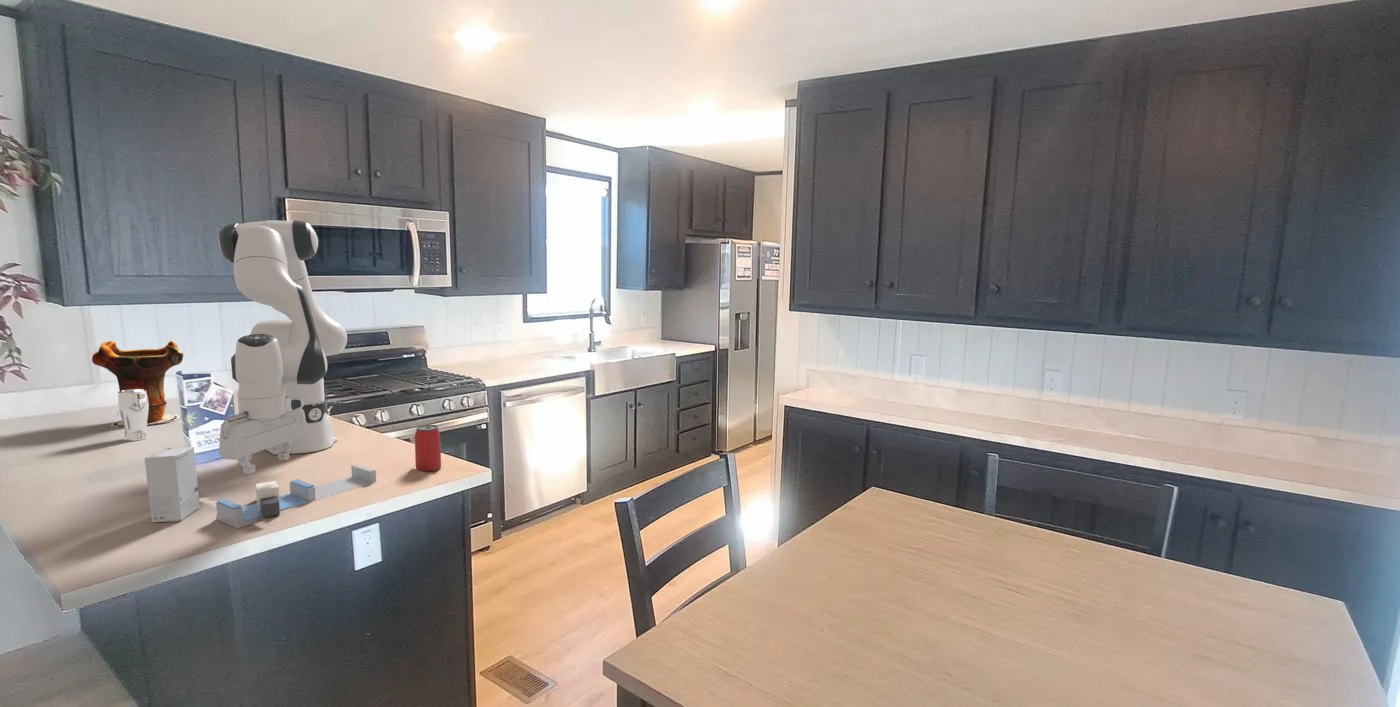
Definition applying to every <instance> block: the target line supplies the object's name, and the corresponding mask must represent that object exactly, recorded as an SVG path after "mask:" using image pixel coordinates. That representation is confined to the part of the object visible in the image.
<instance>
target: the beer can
mask: <svg viewBox="0 0 1400 707" xmlns="http://www.w3.org/2000/svg"><path fill="white" fill-rule="evenodd" d="M440 432H441V431H440V430H439V426H438V425H436V424H423V425H419V426H417V427H416V431H415V433H414V449H415V450H414V454H415V455H414V456H415V457H414V458H415V469H416V470H417V471H419V472H423V473H429V472H430V473H431V472H434V471H435V472H436V471H437V470H439V469H440V468H441V467H442V454H441V450H442V449H441V447H442V446H441V433H440Z"/></svg>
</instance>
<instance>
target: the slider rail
mask: <svg viewBox="0 0 1400 707" xmlns="http://www.w3.org/2000/svg"><path fill="white" fill-rule="evenodd" d="M350 466H351V476H348V477H344V478H340V479H337V480H333V481H330V482H327V483H323V484H319V485H316V486H314V484H312V483H310V482H306V481H303V480H300V479H292V480H290V482H289V493H286V494H283V495H279V499H280V508H279V510H280V512H283V511H285V510H289V509H293V508H295V507H298V506H303V505H305V504H308V503H311V502H312V503H313V502H315V501H319V500H323V499H326V498H328V497H331V496H334V495H338V494H341V493H345V492H348V491H352V490H355V489H358V488H361V487H364V486H368V485H371V484H374V483H375V484H376V483H378V481H377V470H376V469H373V468H371V467H367V466H364V465H360V464H358V463H357V464H353V465H350ZM215 507H216V515H215V519H216V520H217V521H220V522H222V523H224V524H226V525H228V526H230V527H232V528H234V529H237V530H238V529H240V528H244V527H247V526H250V525H254V524H257V523H260V522H263V520H262V519H260V518H264V517H263V514H262V511H260V512H259V510H258V507H257V502H255V503H251V504H248V505H244V506H242V505H241V504H238V503H236V502H233V501H231V500H229V499H226V498H223V499H219V500H216V503H215Z"/></svg>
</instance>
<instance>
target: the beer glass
mask: <svg viewBox="0 0 1400 707" xmlns="http://www.w3.org/2000/svg"><path fill="white" fill-rule="evenodd" d="M117 393H118V394H117V405H118V410H119V416H120V418H121V420H122V421H123V424H124V433H123V434H124V436H123V440H124V441H126V442H137V441H144V440H147V439H149V438H150V437H151V434H150V433H149V429H148V425H147V419H148V411H149V402H148V396H147V391H146V389H129V390H123V391H120V390H119V391H117Z"/></svg>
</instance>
